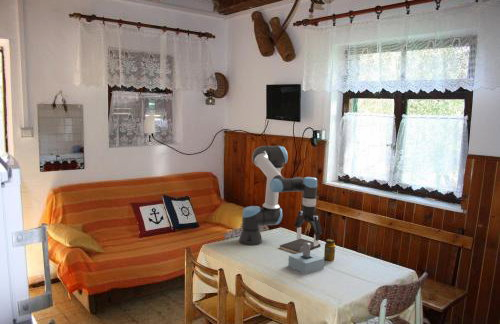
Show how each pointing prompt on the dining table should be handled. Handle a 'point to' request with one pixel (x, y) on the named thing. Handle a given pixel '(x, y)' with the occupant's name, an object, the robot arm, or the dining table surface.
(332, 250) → the condiment
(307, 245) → the long pin
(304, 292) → the dining table surface
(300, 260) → the hole block
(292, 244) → the hardcover book
